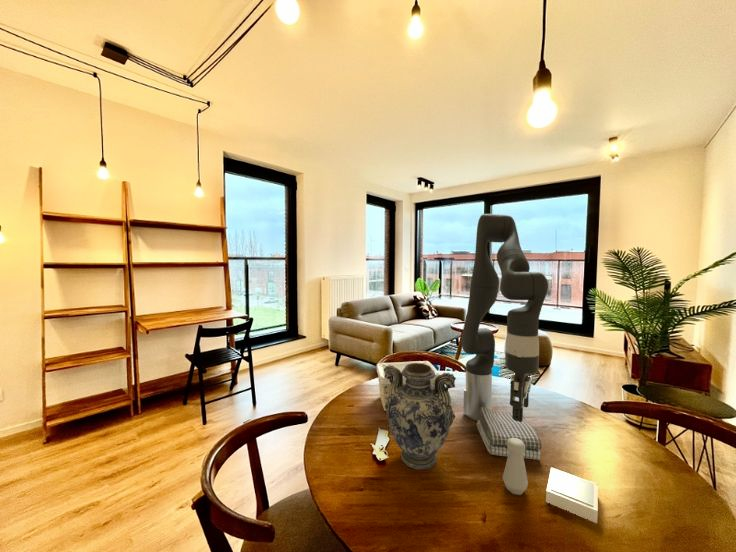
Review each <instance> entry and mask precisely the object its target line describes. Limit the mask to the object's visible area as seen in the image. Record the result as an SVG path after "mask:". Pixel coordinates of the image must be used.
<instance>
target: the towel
mask: <svg viewBox="0 0 736 552" xmlns="http://www.w3.org/2000/svg"><path fill="white" fill-rule="evenodd" d="M479 416H480V420H478V421H477V423H476V424H475V425H476V428H477V431H478V432H479V434H480V437H481V440H482V442H483V444H484V446H485V447H486V450H487V452H488V453H489V455H493V456H499V457H507V458H508V453H509V450H508V448H507V440H508V439H510V438H518V439H520V440H521V441H523V442H524V444H525V452H524V453H523V457H524V459H529V460H539V461H540V460H542V457H541V449H543V446H542V442H541V439H540V436H539V434H538V433H537V431H536V429H534V427H533V426H532V425H531V424H530V422H528V421H527V420H526V419H525V417H524V416H523V420H522V422H519V421H515V420H513V418H512V412H503V411H502V412H500V411H499V412H498V411H497V412H496V411H493V410H492V409H491V410H490V409H487V408H484V407H481V408H480V414H479Z"/></svg>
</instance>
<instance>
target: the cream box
mask: <svg viewBox="0 0 736 552" xmlns="http://www.w3.org/2000/svg"><path fill="white" fill-rule="evenodd" d="M413 363H420V364H425V365H428V366H430V367H431V369H432V370H433V371H434V372H435V377H434V378H433V379H431V380H430V381H431V385H434V386H435V379H436V378H437V377H438V376H439V375H441V374H440V373H439V371H438V370H437V369H436V368H435V366H434V364H432V363H431V362H430V361H428V360H423V361H421V360H418V361H417V360H416V361H402V362H400V361H399V362H379V363H376V373H377V376H378V383H379V384H378V386H379V397H380V396H381V398H380V401H381V404H382V407H383V410H384V412H385V411H386V409H385V404H386V402H387V398H388V396H389V387H390V384H391V383H390V380H389V379H386V378H384V376H385V372H384V368H385V366H389V365H391V366H394V367H395V368H397V369H399V370H400V371H401V373H402V370H403V369H404V368H405V367H406V365H408V364H413ZM393 377H394V376H393ZM393 380H394V379H393ZM405 383H406V378H405V377H404V376H403V384H405ZM385 413H387V411H386V412H385Z"/></svg>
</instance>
